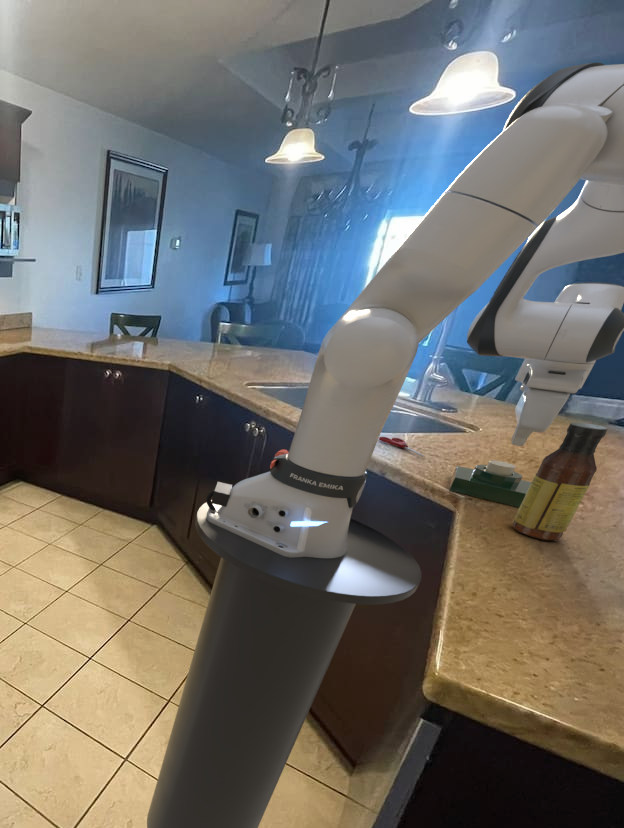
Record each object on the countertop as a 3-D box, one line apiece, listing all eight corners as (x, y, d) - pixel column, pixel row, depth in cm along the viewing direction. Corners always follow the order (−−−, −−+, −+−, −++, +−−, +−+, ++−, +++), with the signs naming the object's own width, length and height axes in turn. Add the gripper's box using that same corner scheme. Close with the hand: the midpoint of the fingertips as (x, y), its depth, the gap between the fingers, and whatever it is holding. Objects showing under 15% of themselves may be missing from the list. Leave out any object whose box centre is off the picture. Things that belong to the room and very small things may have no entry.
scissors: (397, 440, 133) (399, 437, 133) (434, 459, 121) (436, 455, 120) (376, 439, 134) (378, 435, 133) (410, 457, 121) (412, 453, 121)
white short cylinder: (484, 472, 101) (489, 463, 100) (484, 467, 103) (489, 458, 103) (511, 478, 98) (516, 469, 97) (510, 473, 101) (515, 464, 100)
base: (449, 490, 103) (459, 468, 101) (451, 477, 110) (460, 457, 108) (529, 510, 96) (542, 486, 94) (526, 495, 102) (538, 473, 100)
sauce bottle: (562, 536, 86) (627, 428, 78) (555, 546, 82) (623, 434, 74) (511, 521, 91) (568, 418, 83) (503, 529, 87) (560, 423, 79)
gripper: (525, 366, 101) (494, 430, 107) (530, 378, 88) (494, 451, 93) (570, 371, 97) (535, 437, 103) (582, 385, 84) (542, 460, 89)
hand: (516, 444), depth 98 cm, fingers closed
